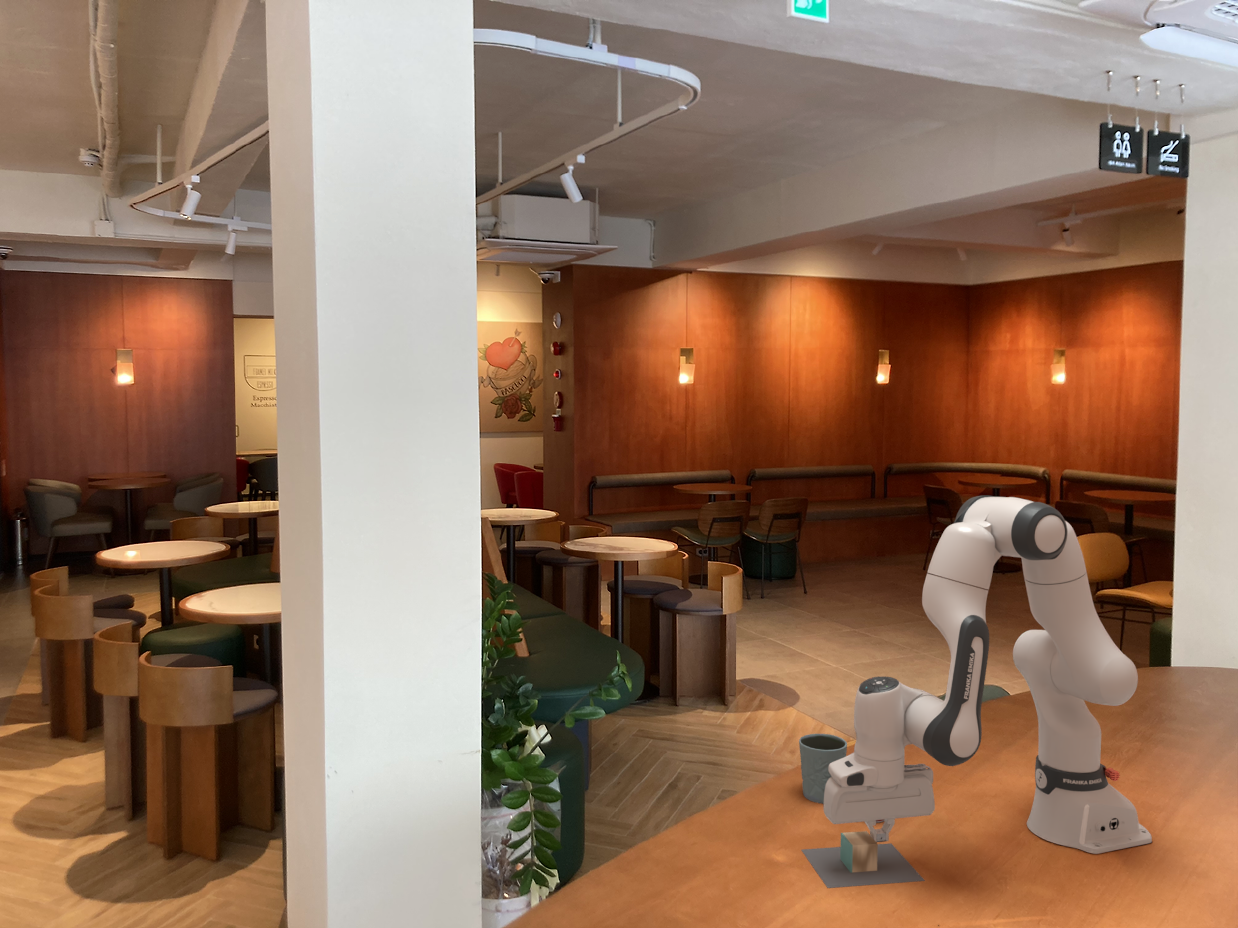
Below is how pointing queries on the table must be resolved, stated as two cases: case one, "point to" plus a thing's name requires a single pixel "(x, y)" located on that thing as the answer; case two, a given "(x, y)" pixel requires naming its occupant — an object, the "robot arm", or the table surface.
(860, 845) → the maple cube
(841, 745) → the grey blue cup
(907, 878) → the rubber mat
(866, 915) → the table surface
